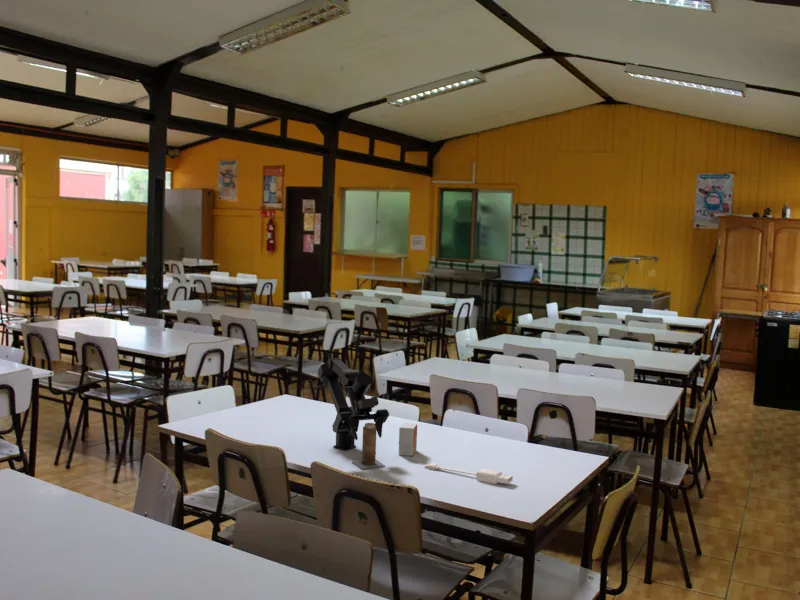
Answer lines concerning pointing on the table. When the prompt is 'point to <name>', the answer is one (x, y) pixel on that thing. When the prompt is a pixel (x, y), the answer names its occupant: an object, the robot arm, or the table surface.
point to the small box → (407, 439)
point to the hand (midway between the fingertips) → (368, 438)
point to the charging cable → (480, 474)
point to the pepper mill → (369, 444)
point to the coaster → (361, 466)
